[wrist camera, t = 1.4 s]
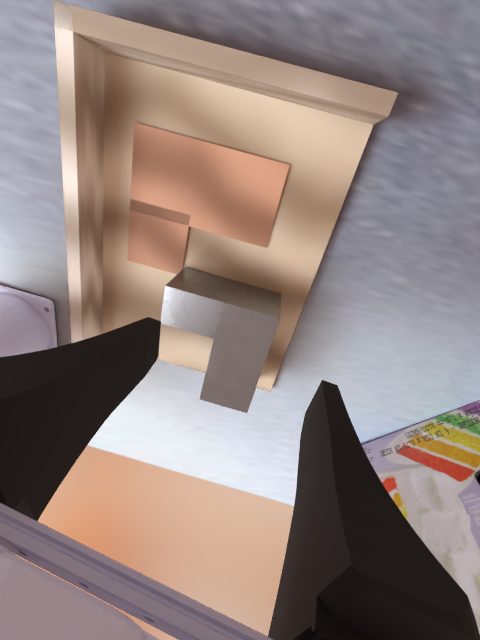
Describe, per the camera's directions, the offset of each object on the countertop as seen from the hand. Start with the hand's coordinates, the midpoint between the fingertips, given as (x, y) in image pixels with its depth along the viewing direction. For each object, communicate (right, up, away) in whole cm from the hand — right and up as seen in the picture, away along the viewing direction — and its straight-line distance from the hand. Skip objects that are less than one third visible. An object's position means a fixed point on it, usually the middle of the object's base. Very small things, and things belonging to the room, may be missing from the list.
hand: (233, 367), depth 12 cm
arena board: (-3, +8, +11) cm, 13 cm away
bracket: (-1, +1, +13) cm, 13 cm away
